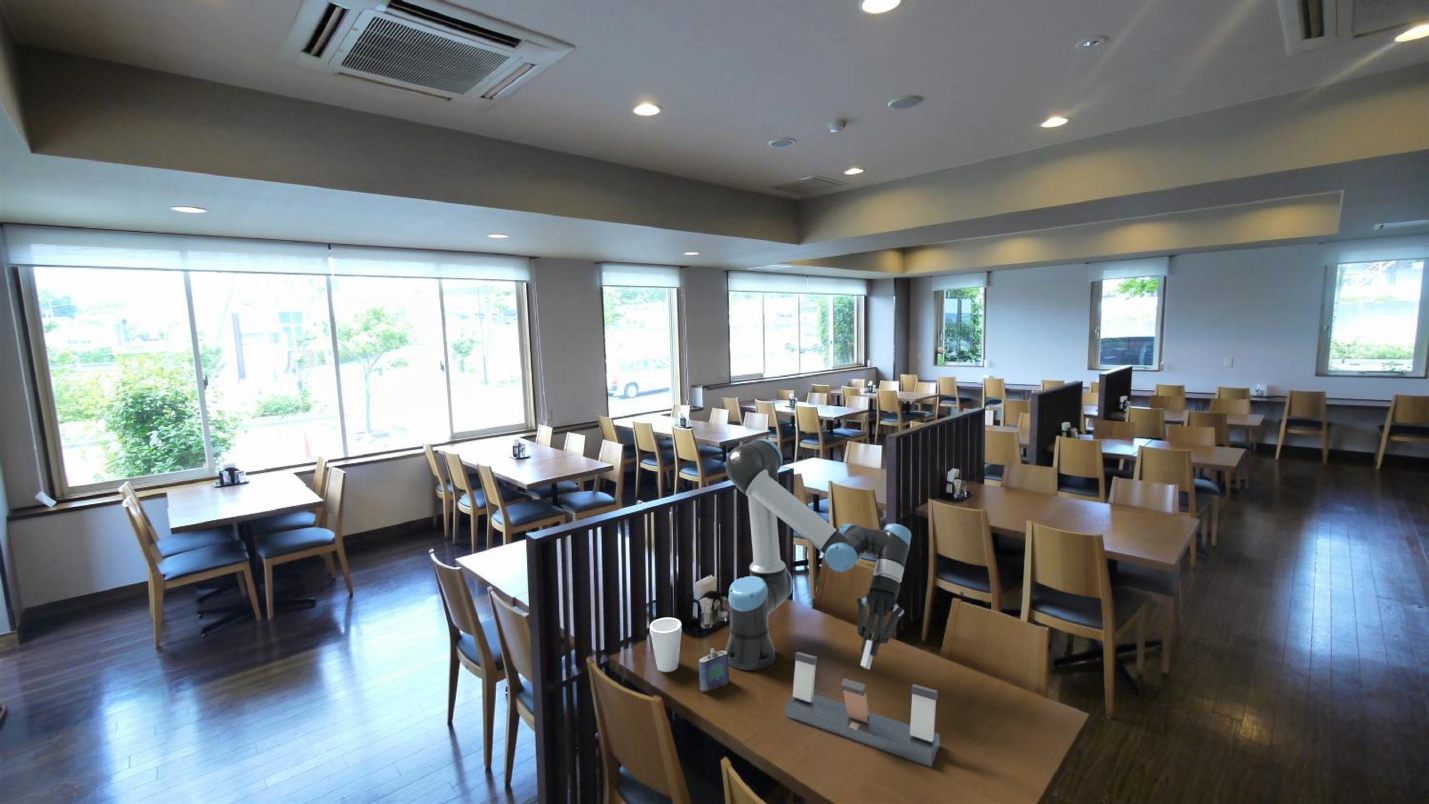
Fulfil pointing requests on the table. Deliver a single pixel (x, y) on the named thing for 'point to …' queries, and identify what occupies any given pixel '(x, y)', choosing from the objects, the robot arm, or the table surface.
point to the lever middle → (855, 700)
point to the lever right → (923, 712)
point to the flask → (713, 670)
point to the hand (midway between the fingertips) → (865, 667)
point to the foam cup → (666, 642)
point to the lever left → (804, 676)
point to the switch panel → (864, 728)
